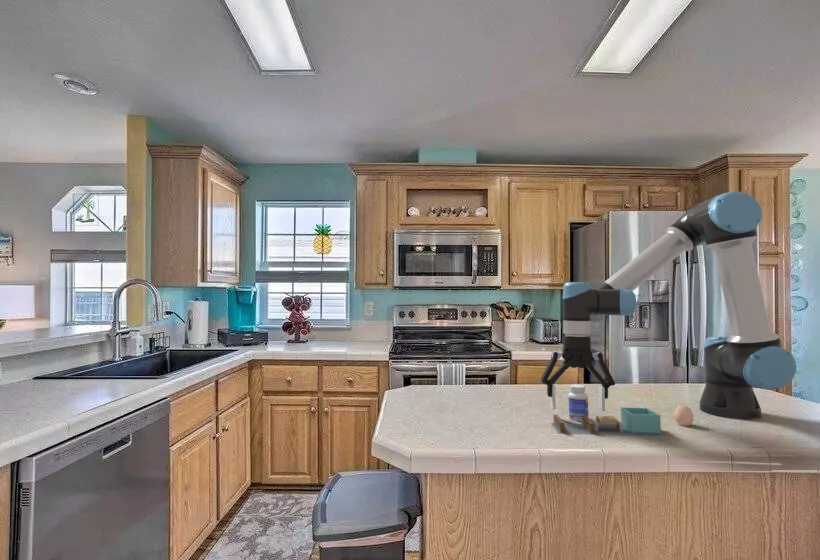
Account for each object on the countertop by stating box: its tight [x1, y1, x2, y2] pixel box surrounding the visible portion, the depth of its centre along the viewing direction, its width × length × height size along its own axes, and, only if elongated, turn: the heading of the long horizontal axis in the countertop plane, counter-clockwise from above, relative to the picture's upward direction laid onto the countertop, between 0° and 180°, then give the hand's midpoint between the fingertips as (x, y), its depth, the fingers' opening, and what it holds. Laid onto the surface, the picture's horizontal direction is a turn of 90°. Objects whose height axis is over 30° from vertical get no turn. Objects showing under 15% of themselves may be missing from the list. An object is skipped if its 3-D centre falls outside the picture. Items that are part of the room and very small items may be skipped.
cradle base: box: [590, 418, 623, 432], centre depth 114 cm, size 7×4×2 cm, turn 84°
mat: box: [550, 422, 666, 438], centre depth 114 cm, size 26×9×1 cm, turn 84°
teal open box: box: [620, 406, 662, 435], centre depth 113 cm, size 7×7×5 cm
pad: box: [595, 415, 617, 424], centre depth 114 cm, size 4×3×1 cm
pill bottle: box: [567, 384, 590, 422], centre depth 124 cm, size 5×5×10 cm
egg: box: [673, 404, 694, 427], centre depth 118 cm, size 4×4×6 cm
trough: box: [553, 414, 595, 435], centre depth 115 cm, size 8×8×2 cm
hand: (577, 409), depth 124 cm, fingers open, 13 cm apart
